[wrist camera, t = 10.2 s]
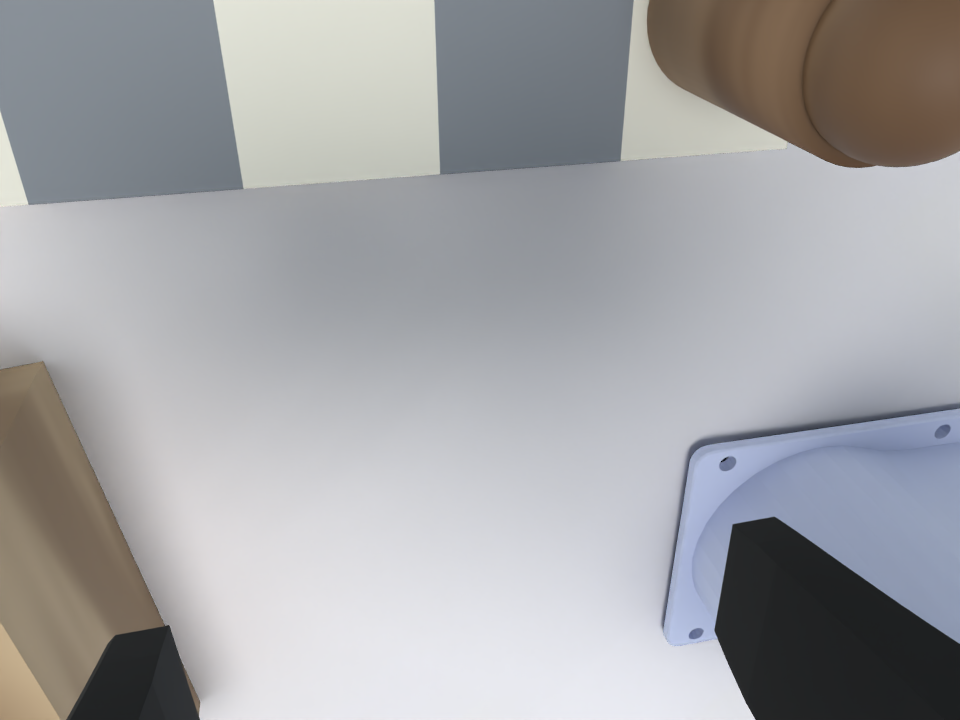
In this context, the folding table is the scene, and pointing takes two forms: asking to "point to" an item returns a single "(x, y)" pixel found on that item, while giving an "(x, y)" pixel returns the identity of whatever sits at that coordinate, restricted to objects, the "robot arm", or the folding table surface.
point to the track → (331, 93)
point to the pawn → (823, 71)
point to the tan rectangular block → (56, 557)
